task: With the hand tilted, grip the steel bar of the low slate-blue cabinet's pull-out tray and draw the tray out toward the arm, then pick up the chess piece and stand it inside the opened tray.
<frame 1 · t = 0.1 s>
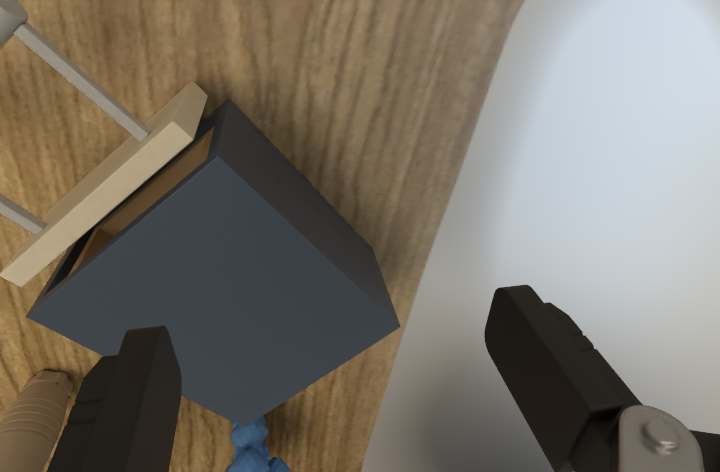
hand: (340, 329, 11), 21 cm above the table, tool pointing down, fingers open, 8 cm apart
drawer: (153, 211, 25), point 4 cm above the table, slide at 1.0 cm
grapes: (257, 419, 46), on the table
cabinet: (240, 238, 33), on the table
handle: (53, 378, 37), on the table
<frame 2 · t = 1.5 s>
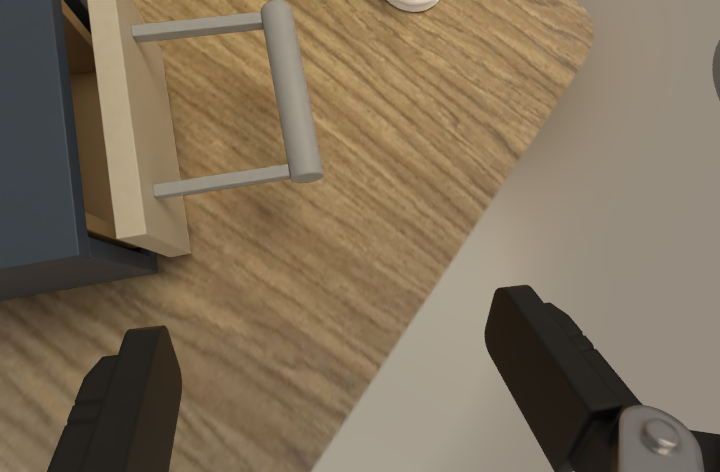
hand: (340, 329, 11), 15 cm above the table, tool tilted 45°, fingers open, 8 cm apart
drawer: (84, 134, 22), point 4 cm above the table, slide at 1.0 cm
cabinet: (0, 180, 25), on the table
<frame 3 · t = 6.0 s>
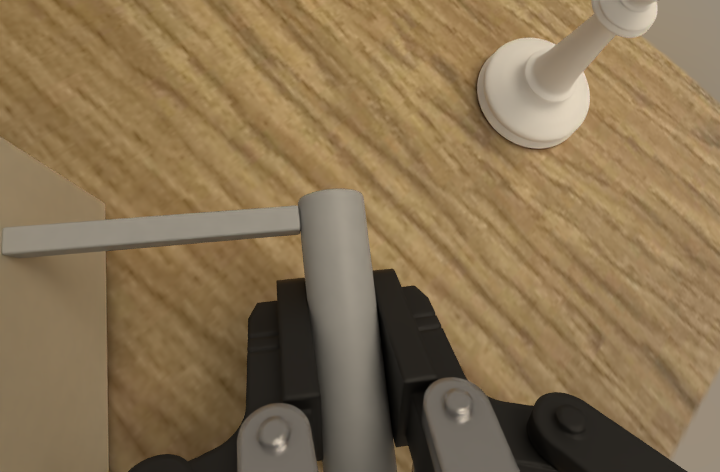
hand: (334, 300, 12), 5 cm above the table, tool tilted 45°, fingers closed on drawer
chess piece: (527, 98, 19), on the table
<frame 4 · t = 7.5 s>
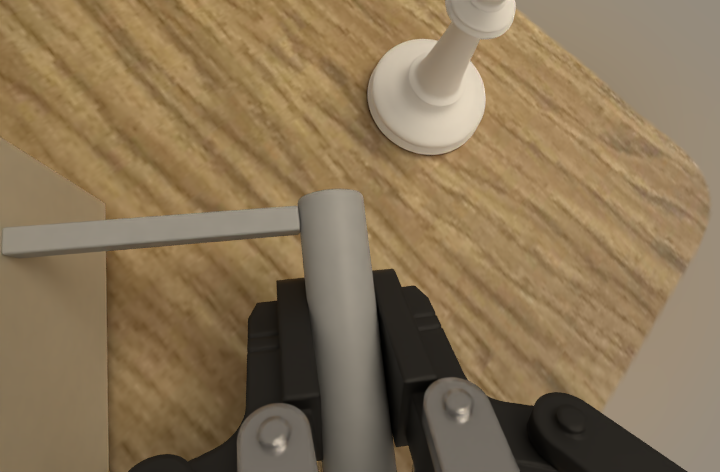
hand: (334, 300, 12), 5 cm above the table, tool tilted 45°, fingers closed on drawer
chess piece: (423, 102, 18), on the table
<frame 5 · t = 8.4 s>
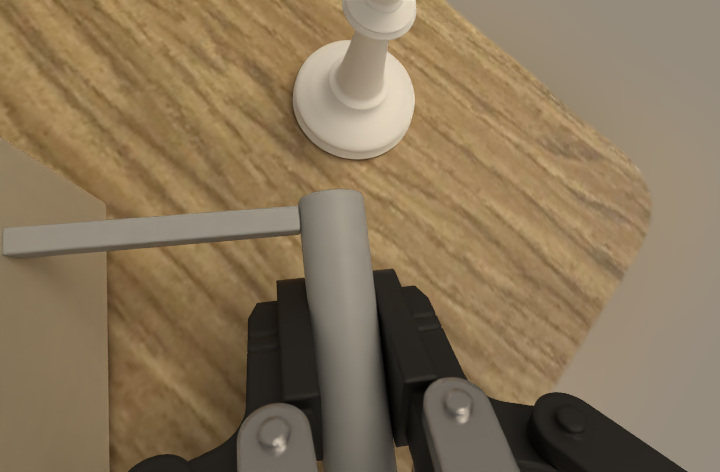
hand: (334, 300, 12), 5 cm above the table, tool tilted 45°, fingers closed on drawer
chess piece: (353, 105, 18), on the table
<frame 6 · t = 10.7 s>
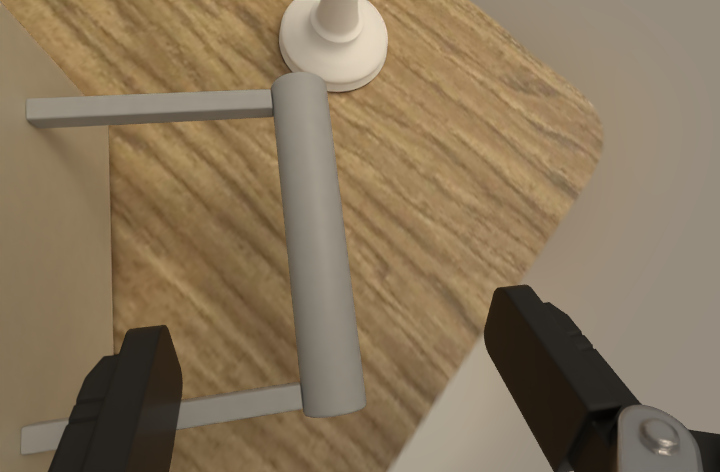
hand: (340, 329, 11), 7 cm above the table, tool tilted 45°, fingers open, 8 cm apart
chess piece: (333, 46, 20), on the table
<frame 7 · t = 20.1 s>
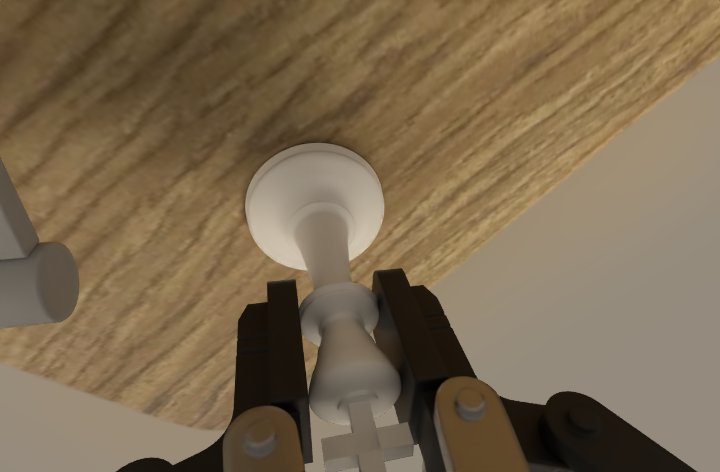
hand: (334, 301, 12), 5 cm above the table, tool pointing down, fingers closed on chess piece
chess piece: (315, 204, 16), on the table, touching gripper
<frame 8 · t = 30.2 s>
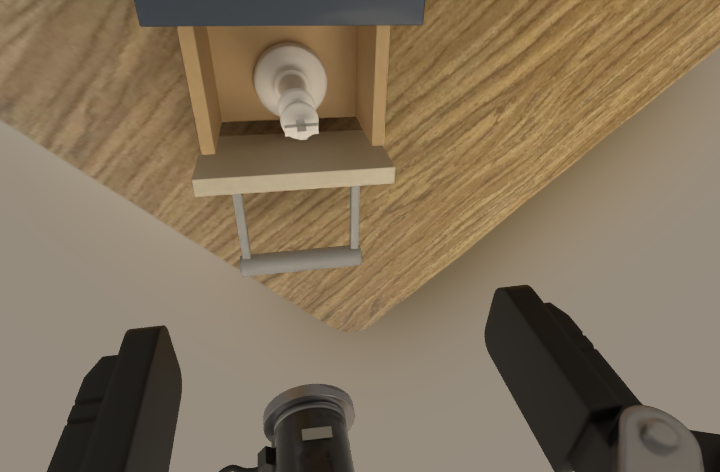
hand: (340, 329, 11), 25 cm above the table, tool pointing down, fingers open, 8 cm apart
drawer: (291, 119, 29), point 4 cm above the table, slide at 8.4 cm, touching chess piece
chess piece: (290, 80, 30), point 2 cm above the table, touching drawer
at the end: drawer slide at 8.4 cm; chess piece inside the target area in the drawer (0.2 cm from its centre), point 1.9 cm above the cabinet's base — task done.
